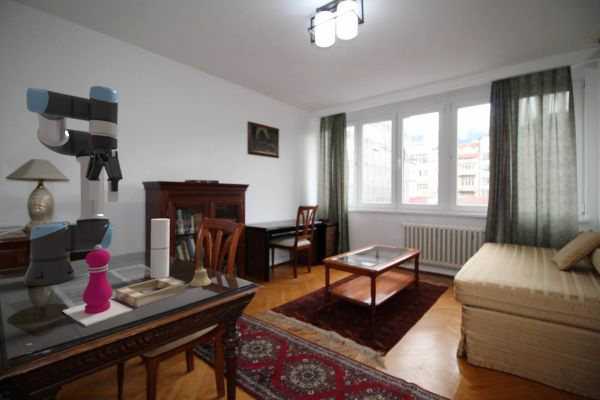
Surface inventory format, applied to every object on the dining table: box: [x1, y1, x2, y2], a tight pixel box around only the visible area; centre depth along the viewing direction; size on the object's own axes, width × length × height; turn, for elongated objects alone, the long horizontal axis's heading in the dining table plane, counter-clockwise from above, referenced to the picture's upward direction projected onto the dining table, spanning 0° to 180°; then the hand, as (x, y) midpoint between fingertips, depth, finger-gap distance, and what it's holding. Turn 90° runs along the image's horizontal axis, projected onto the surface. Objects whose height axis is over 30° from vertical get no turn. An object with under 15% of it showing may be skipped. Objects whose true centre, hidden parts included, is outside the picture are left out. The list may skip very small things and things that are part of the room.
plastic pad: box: [62, 298, 133, 327], centre depth 82 cm, size 16×12×1 cm
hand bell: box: [189, 243, 212, 288], centre depth 109 cm, size 8×8×16 cm
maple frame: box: [115, 277, 186, 308], centre depth 96 cm, size 14×17×3 cm
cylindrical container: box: [150, 218, 171, 279], centre depth 117 cm, size 7×7×25 cm
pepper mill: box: [82, 245, 113, 314], centre depth 82 cm, size 7×7×20 cm
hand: (103, 201), depth 89 cm, fingers open, 13 cm apart
